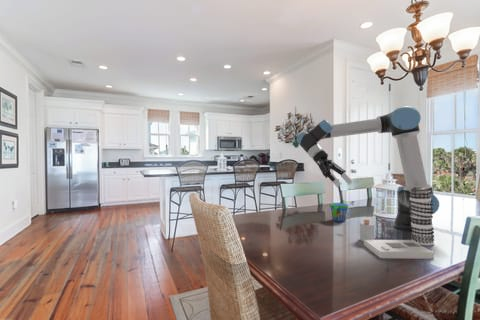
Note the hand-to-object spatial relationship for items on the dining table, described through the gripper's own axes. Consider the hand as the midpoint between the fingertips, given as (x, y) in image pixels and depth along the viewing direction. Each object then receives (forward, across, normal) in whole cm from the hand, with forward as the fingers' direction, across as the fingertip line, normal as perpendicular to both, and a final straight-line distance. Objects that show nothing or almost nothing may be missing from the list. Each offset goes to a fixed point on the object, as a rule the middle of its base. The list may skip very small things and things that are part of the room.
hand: (345, 184), depth 121 cm
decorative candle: (+38, -15, +2) cm, 41 cm away
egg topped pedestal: (+25, 0, -11) cm, 28 cm away
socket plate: (+35, +5, -2) cm, 35 cm away
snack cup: (+7, -27, -30) cm, 41 cm away
